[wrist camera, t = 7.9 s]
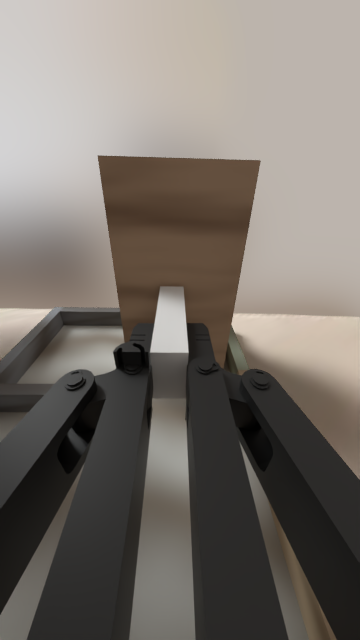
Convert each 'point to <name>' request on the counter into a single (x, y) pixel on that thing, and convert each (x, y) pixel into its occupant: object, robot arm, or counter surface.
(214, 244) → the walnut block
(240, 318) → the counter surface
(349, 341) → the counter surface
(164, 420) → the grey flat tray
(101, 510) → the robot arm
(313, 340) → the counter surface
